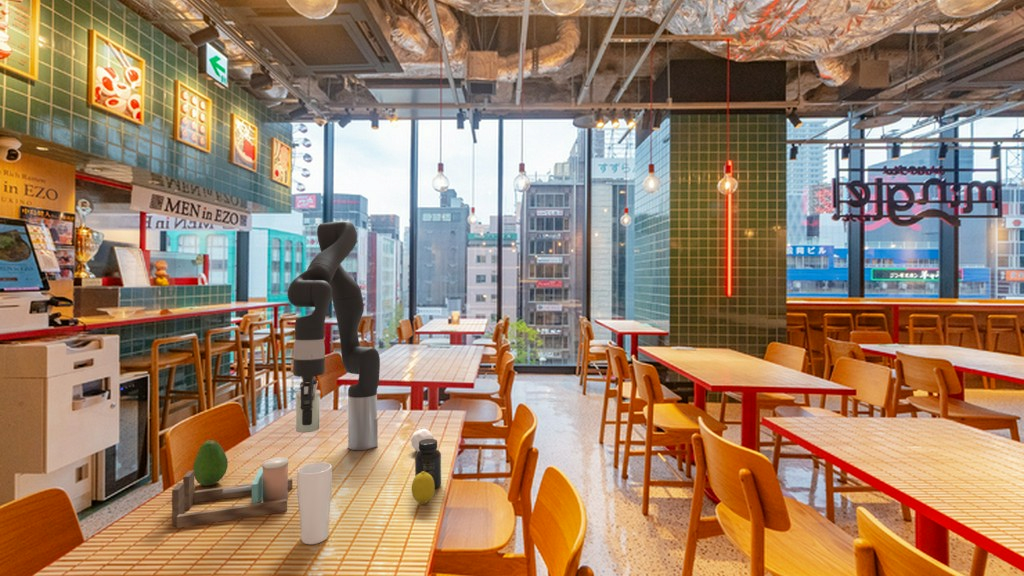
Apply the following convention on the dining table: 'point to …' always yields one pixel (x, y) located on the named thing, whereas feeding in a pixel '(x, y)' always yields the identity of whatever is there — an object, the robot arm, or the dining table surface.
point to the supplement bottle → (429, 460)
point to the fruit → (210, 463)
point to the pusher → (252, 488)
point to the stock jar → (275, 479)
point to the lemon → (423, 487)
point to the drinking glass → (314, 501)
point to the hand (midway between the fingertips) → (308, 421)
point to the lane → (186, 497)
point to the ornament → (420, 437)
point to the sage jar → (315, 414)
